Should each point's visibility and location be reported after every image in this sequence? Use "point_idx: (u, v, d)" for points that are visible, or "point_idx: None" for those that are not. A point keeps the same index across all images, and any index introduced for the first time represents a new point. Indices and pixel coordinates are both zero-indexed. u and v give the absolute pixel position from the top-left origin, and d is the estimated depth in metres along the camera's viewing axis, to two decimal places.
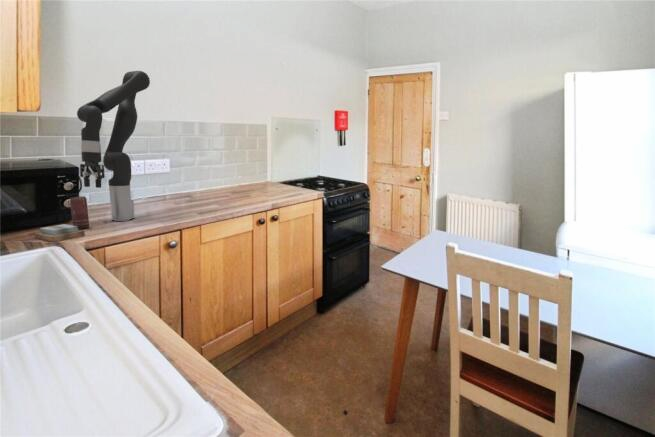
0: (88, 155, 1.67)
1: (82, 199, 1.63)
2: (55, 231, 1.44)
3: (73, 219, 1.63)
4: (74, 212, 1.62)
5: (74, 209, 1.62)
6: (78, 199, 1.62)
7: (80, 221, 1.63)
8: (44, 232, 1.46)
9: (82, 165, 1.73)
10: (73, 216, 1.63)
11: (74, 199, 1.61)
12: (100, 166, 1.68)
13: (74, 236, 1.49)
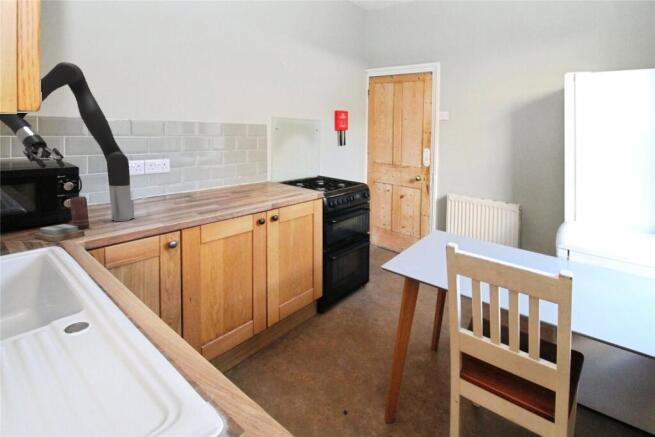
0: (25, 147, 1.63)
1: (82, 199, 1.63)
2: (55, 231, 1.44)
3: (73, 219, 1.63)
4: (74, 212, 1.62)
5: (74, 209, 1.62)
6: (78, 199, 1.62)
7: (80, 221, 1.63)
8: (44, 232, 1.46)
9: (51, 152, 1.70)
10: (73, 216, 1.63)
11: (74, 199, 1.61)
12: (24, 151, 1.58)
13: (74, 236, 1.49)
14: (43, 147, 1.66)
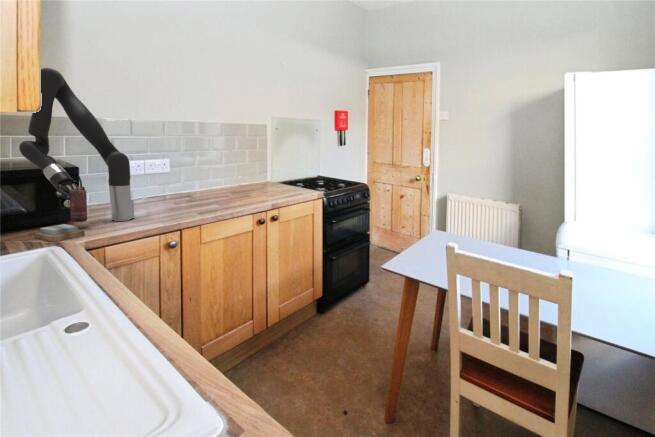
0: (52, 184, 1.63)
1: (82, 192, 1.62)
2: (55, 231, 1.44)
3: (71, 211, 1.62)
4: (73, 204, 1.62)
5: (73, 201, 1.61)
6: (78, 192, 1.61)
7: (78, 214, 1.63)
8: (44, 232, 1.46)
9: None
10: (72, 208, 1.62)
11: (74, 191, 1.61)
12: (58, 193, 1.59)
13: (74, 236, 1.49)
14: (70, 183, 1.66)
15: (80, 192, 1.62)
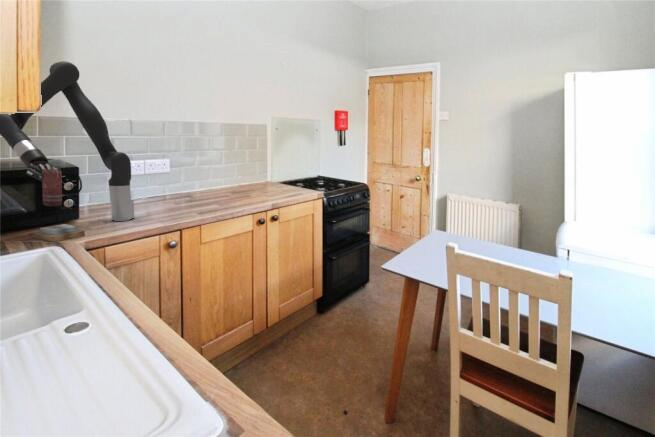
0: None
1: (56, 172, 1.44)
2: (55, 231, 1.44)
3: (44, 194, 1.44)
4: (45, 186, 1.43)
5: (46, 182, 1.43)
6: (51, 172, 1.43)
7: (51, 196, 1.45)
8: (44, 232, 1.46)
9: None
10: (44, 190, 1.44)
11: (47, 171, 1.43)
12: (29, 173, 1.41)
13: (74, 236, 1.49)
14: (44, 163, 1.48)
15: (54, 172, 1.44)
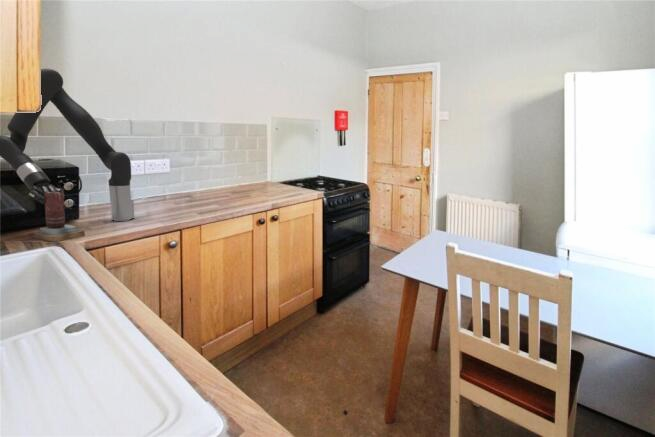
0: None
1: (58, 195, 1.45)
2: (55, 231, 1.44)
3: (47, 216, 1.46)
4: (48, 209, 1.45)
5: (49, 205, 1.44)
6: (53, 195, 1.44)
7: (54, 219, 1.46)
8: (44, 232, 1.46)
9: None
10: (47, 213, 1.45)
11: (49, 194, 1.44)
12: (30, 195, 1.42)
13: (74, 236, 1.49)
14: (47, 185, 1.49)
15: (56, 195, 1.45)
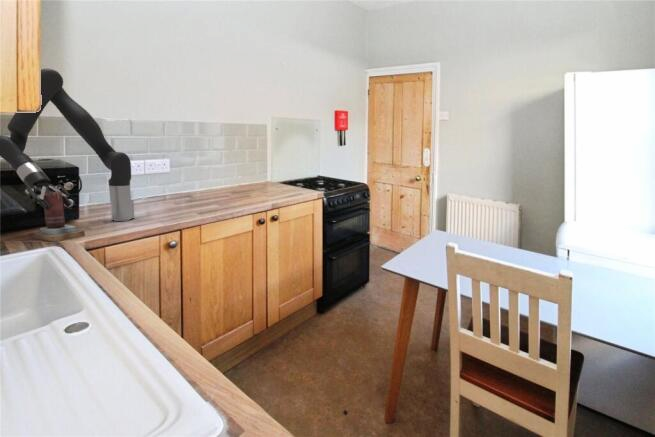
0: None
1: (56, 194, 1.46)
2: (55, 231, 1.44)
3: (46, 216, 1.46)
4: None
5: None
6: (52, 194, 1.45)
7: (54, 218, 1.46)
8: (44, 232, 1.46)
9: (56, 188, 1.54)
10: (46, 213, 1.46)
11: (47, 194, 1.45)
12: (26, 191, 1.42)
13: (74, 236, 1.49)
14: (47, 185, 1.49)
15: (54, 194, 1.46)
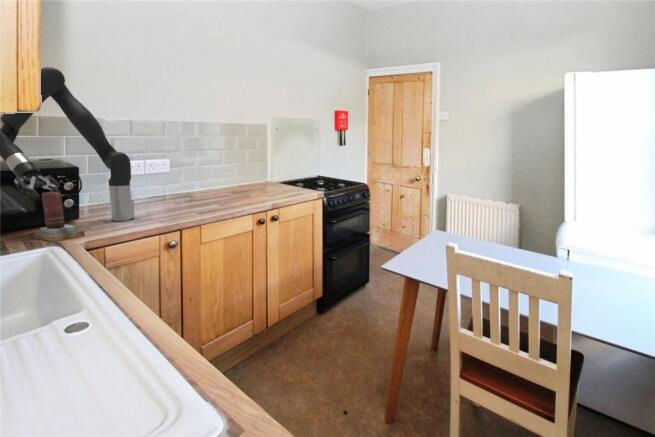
0: (16, 175, 1.47)
1: (56, 194, 1.45)
2: (55, 231, 1.44)
3: (46, 217, 1.46)
4: (46, 209, 1.45)
5: (47, 205, 1.44)
6: (51, 194, 1.44)
7: (53, 219, 1.46)
8: (44, 232, 1.46)
9: (46, 179, 1.54)
10: (46, 213, 1.45)
11: (46, 194, 1.44)
12: (15, 181, 1.42)
13: (74, 236, 1.49)
14: (36, 175, 1.50)
15: (54, 195, 1.45)
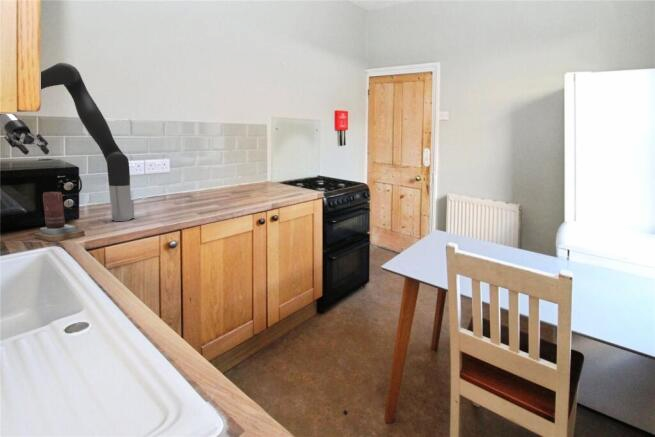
0: (7, 132, 1.58)
1: (57, 194, 1.46)
2: (55, 231, 1.44)
3: (46, 216, 1.46)
4: (47, 209, 1.45)
5: (48, 205, 1.45)
6: (52, 194, 1.45)
7: (54, 219, 1.46)
8: (44, 232, 1.46)
9: (35, 138, 1.65)
10: (46, 213, 1.46)
11: (47, 194, 1.44)
12: (5, 136, 1.53)
13: (74, 236, 1.49)
14: (26, 133, 1.60)
15: (55, 194, 1.45)
